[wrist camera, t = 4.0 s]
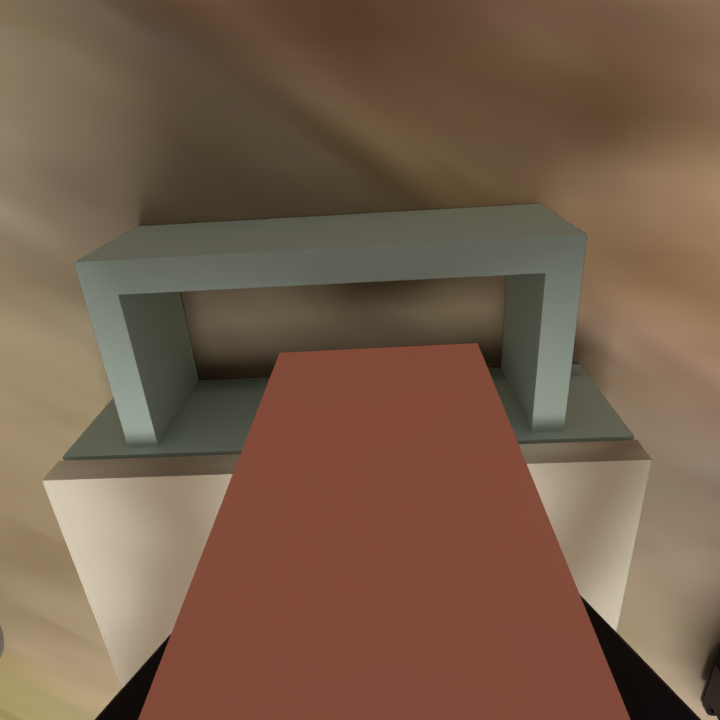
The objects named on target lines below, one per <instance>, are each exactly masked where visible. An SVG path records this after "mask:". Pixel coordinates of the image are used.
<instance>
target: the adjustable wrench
mask: <svg viewBox="0 0 720 720" xmlns="http://www.w3.org/2000/svg"><path fill="white" fill-rule="evenodd" d="M3 648H4V636H3V632H2V629H1V627H0V657H1V655H2V652H3Z"/></svg>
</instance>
